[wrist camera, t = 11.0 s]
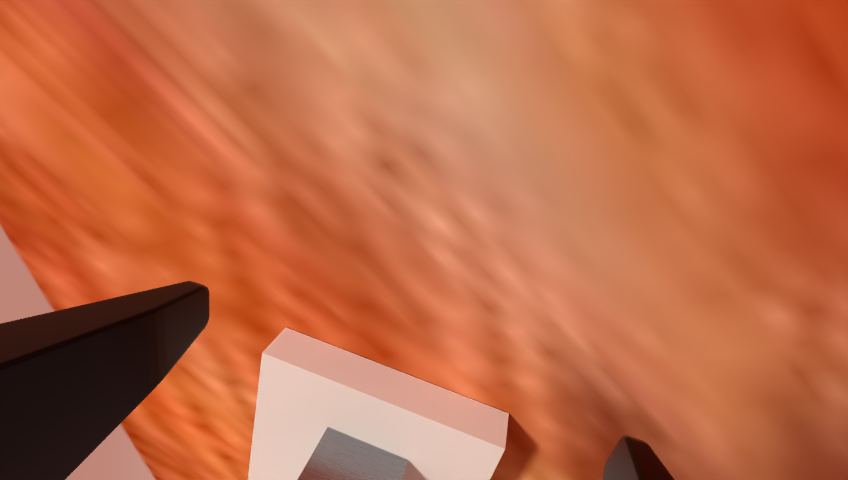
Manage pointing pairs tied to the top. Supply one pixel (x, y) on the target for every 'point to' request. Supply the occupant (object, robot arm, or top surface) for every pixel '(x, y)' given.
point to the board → (366, 414)
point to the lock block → (351, 460)
